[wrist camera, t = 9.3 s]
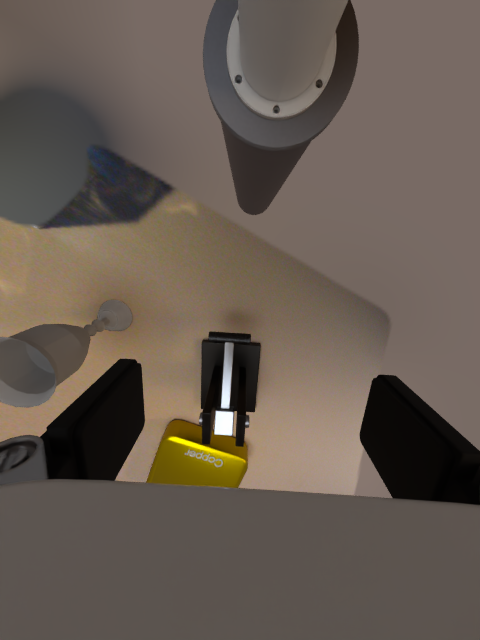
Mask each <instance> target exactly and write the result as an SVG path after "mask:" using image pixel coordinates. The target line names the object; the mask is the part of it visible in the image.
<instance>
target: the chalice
mask: <svg viewBox="0 0 480 640" xmlns="http://www.w3.org/2000/svg"><path fill="white" fill-rule="evenodd" d="M97 319H98V320H94V321H93V322H92V325H86V326H85V327H84V329H83V328H82V327H79V326H72V325H66V324H43V325H39V326H35V327H33V328H30V329H28V330H25V331H23V332H20V333H18V334H15V335H13V336H10V337H0V401H1V402H2V403H5V404H8V405H12V406H15V407H28V408H29V407H33V406H38V405H41V404H42V403H44V402H46V401H47V400H49V399H50V397H51V396H52V394H53V393H54V392H55V388H56V386H58V385H59V384H60V383H61V382H63V381H64V380H65V379H67V378H68V377H69V376H71V375H72V374H73V373H75V372H76V371H77V370H78V369H79V368H80V366H81V365H82V364H83V362H84V360H85V358H86V356H87V353H88V348H89V344H90V336H94V335H95V334H96V332H97V331H98V332H101V331H103V330H104V329H106V330H109V331H123V330H125V329H127V328H128V327H129V326H130V324H131V322H132V313H131V311H130V309H129V308H128V306H127V305H126V304H124V303H123V302H121V301H118V300H109V301H106V302H105V303H103V304H102V306H101V307H100V310H99V312H98V315H97Z"/></svg>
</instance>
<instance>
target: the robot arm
mask: <svg viewBox="0 0 480 640" xmlns="http://www.w3.org/2000/svg"><path fill="white" fill-rule="evenodd" d="M347 2H348V0H238V4H239V9H238V10H237V12H236V14H235V16H234V19H233V21H232V23H231V27H230V31H229V34H228V41H227V66H228V73H229V77H230V80H231V84H232V86H233V88H234V90H235V93H236V95H237V96H238V98H239V99H240V100H241V102H242V103H243V104H244V105H245V106H246V107H247V108H248V109H249V110H250V111H251V112H253V113H254V114H256V115H257V116H259V117H262V118H265V119H268V120H276V121H279V120H287V119H290V118H293V117H296V116H298V115H300V114H301V113H303V112H305V111H306V110H307V109H308V108H310V107H311V106H312V105H313V104H314V103H315V102H316V100H317V99H318V98H319V97H320V95H321V94H322V92H323V90H324V88H325V87H326V85H327V83H328V80H329V78H330V76H331V73H332V70H333V66H334V63H335V56H336V32H335V30H336V28H337V26H338V23H339V21H340V19H341V16H342V14H343V12H344V9H345V7H346V5H347ZM237 82H240V84H237ZM316 86H318V87H319V88H317V87H316ZM274 111H277V112H278V113H277V114H275V113H274ZM144 423H145V415H144V399H143V383H142V368H141V364H140V363H137V361H136V360H135V359H119V360H118V361H117V362H116V363H115V364H114V365H113V366H112V367H111V368H110V369H109V370H107V371H106V372H105V373H104V374H103V375H102V376H101V377H100V378H99V379H98V380H97V381H96V382H95V383H94V384H92V385H91V386H90V387H89V388H88V389H87V390H86V391H85V392H84V393H83V394H82V395H81V396H80V397H79V398H77V399H76V400H75V401H74V402H73V403H72V404H71V405H70V406H69V407H68V408H67V409H66V410H65V411H63V412H62V413H61V414H60V415H59V416H58V417H57V418H56V419H55V420H54V421H53V422H52V423H51V424H50V425H48V426H47V427H46V428H47V431H46V432H45V433H44V434H43V435H42V436H41V437H38V436H34V435H24V436H18V437H14V438H10V439H7V440H5V441H2V442H0V640H480V451H479V450H478V449H477V448H476V447H474V446H473V445H472V444H471V443H470V442H469V441H468V440H467V439H466V438H464V437H463V436H462V435H461V434H460V433H459V432H458V431H457V430H456V429H454V428H453V427H452V426H451V425H450V424H449V423H448V422H447V421H446V420H444V419H443V418H442V417H441V416H440V415H439V414H438V413H437V412H436V411H434V410H433V409H432V408H431V407H430V406H429V405H428V404H426V402H424V401H423V400H422V399H421V398H420V397H419V396H418V395H416V394H415V393H414V392H413V391H412V390H411V389H410V388H409V387H408V386H407V385H405V384H404V383H403V382H402V381H401V380H400V379H399V378H398V377H396V376H393V375H378V376H377V378H374V379H373V380H372V384H371V388H370V392H369V397H368V401H367V405H366V409H365V413H364V417H363V422H362V426H361V430H360V441H361V443H362V445H363V447H364V449H365V450H366V452H367V454H368V455H369V457H370V458H371V461H372V462H373V464H374V466H375V468H376V469H377V471H378V473H379V475H380V476H381V478H382V480H383V482H384V483H385V485H386V487H387V489H388V490H389V492H390V494H391V496H392V497H393V498H379V497H366V496H352V495H338V494H323V493H307V492H292V491H277V490H261V489H245V488H229V487H212V486H195V485H177V484H160V483H143V482H125V481H114V480H115V479H116V477H117V475H118V473H119V471H120V470H121V468H122V466H123V464H124V462H125V460H126V459H127V457H128V455H129V453H130V451H131V450H132V448H133V446H134V444H135V442H136V440H137V439H138V437H139V435H140V433H141V431H142V429H143V427H144Z"/></svg>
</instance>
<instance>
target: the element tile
mask: <svg viewBox="0 0 480 640" xmlns="http://www.w3.org/2000/svg"><path fill="white" fill-rule="evenodd" d="M235 442H236V438H234V437H231V436H228V435H214V431H213V430H212V436H211V441H210V444H202V427H201V426H198V425H195V424H191V423H188V422H185V421H182V420H174V421H172V422H170V423H169V424H168V426H167V428H166V430H165V433H164V435H163V437H162V440H161V442H160V445H159V448H158V450H157V453H156V456H155V459H154V462H153V464H152V467H151V470H150V473H149V476H148V478H147V481H146V483H160V484H177V485H195V486H212V487H229V488H238V487H239V485H240V483H241V481H242V479H243V477H244V475H245V473H246V471H247V468H248V449H247V445H246V443H245V442H244V447H238V446H235Z"/></svg>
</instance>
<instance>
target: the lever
mask: <svg viewBox="0 0 480 640" xmlns="http://www.w3.org/2000/svg"><path fill="white" fill-rule="evenodd" d="M208 341H209V343H218V344H225V350H224V365H223V380H222V395H221V406H217V408H216V411H215V426H214V435H229V436H232V435H233V421H234V407H233V406H230V398H231V382H232V366H233V351H234V344H235V345H250V342H251V334H243V333H226V332H209V338H208Z"/></svg>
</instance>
